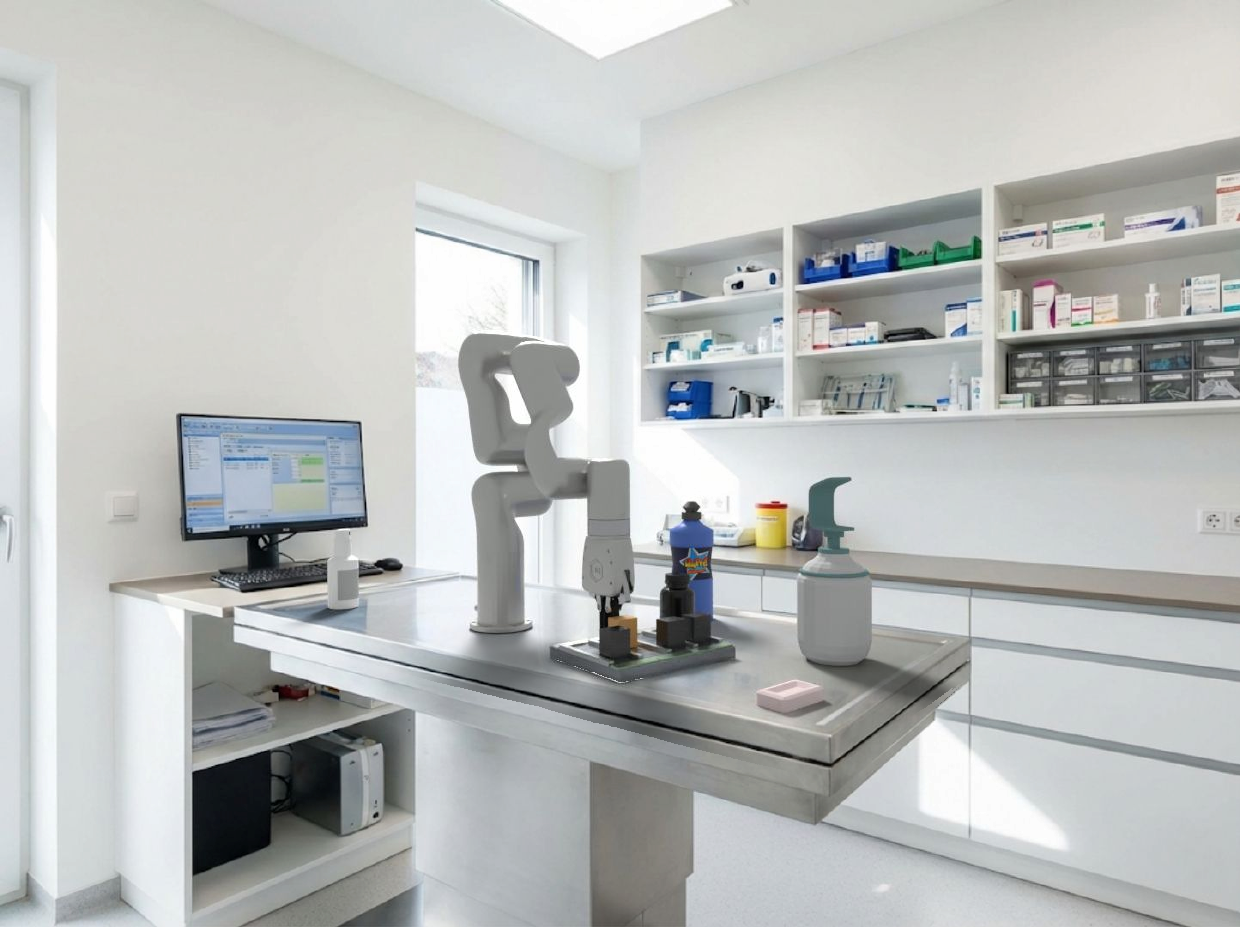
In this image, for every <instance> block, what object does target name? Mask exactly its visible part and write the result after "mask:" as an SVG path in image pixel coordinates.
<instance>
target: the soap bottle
mask: <svg viewBox="0 0 1240 927" xmlns="http://www.w3.org/2000/svg"><path fill="white" fill-rule="evenodd" d="M852 480H853V479H852V477H850V476H836V477H833V476H832V477H827V478H824V479H821V480H819V481H818V482H815V483H813V484H812V485H811V486H810V487H809V489H808V524H809V527H810V529H812V530H816V531H823V532H822V537H823V538H827V543H826V544H827V546H819V547H818V548H817V550H818V552H817V555H816V556H815V557H814V558H813V559H810V560H808V561H807V562H806V563H805V564H804V565H803V566H802V567H800V568H798V570H799V573H798V574H797V577H796V637H797V642H798V647H799V649H800V652H801V654H802V655H803V656H804V657H805V658H806V659H808V660H809V661H810V662H813V663H815V664H819V665H824V666H829V667H830V666H831V667H834V666H835V667H843V666H844V667H847V666H855V665H858V664H859V663H860V662H861V661H863V660H864V659H866V657H868V655H869V653H870V650H871V646H872V640H873V636H872V635H873V634H872V633H873V632H872V631H873V629H872V625H873V624H872V623H873V620H872V618H873V616H872V614H873V612H872V611H873V610H872V606H873V605H872V602H873V600H872V597H873V595H872V594H873V592H872V591H873V588H872V587H873V586H872V585H873V581H872V579H871V577H870V576H869V575H870V571H869V570H868V569H867V568H864V566H863V565H862V564H861V563H860V562H858V561H856V560H855V559H854V558H852V557H851V556H850V548H848V547H843V546H841V538H844V537H845V532H852V531H853V532H854V531H855V527H854V526H853V527H852V526H846V525H839V524H837V523H836V521H835V492H836V489H837V488H838V487H840V486H842V485H845V484H847V483H849V482H852Z"/></svg>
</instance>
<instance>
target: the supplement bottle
mask: <svg viewBox="0 0 1240 927" xmlns="http://www.w3.org/2000/svg"><path fill="white" fill-rule="evenodd" d="M664 577H665V578H664V584H665V586H664V587H663V588H662V589H661V590H660V592H659V619H660V618H666V617H672V616H675V617H679V618H682V615H684V614H690V613H695V592H694V590H693V589H692V588H690V587H689V584H690V574H688V573H672V572H667V573H665V574H664Z"/></svg>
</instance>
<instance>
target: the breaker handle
mask: <svg viewBox="0 0 1240 927" xmlns="http://www.w3.org/2000/svg"><path fill="white" fill-rule="evenodd" d="M618 625H619V626H623V627H627V628H630V648H633V647H637V630H638V617H636V616H633V615H628V614H624V615H619V616H616V617H610V618H608V627H612V626H618Z"/></svg>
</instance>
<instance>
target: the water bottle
mask: <svg viewBox="0 0 1240 927" xmlns="http://www.w3.org/2000/svg"><path fill="white" fill-rule="evenodd" d="M682 509H683V510H684V511H681V520H682V521H681V523H679V524H677V525H675V526H673V527H672V528H670V529H669V545H670V553H671V560H672V561H671V562H672V565H671V573H688V574H690V584H689V587H690V588H692V589H693V590H694V592H695V612H702V613H706V614H711V622H712V621H713V620H714V576H713V571H712V570H713V569H712V557H713V556H712V555H713V548H714V540H715V538H714V532H715V531H714V529H713V528H711V527H709V526H708V525H705V524H704V523H703V522H702V521H701V520H702V511H699V510H700V509H701V505H699V503H698V502H696V501H695V500H692V501H691V500H690V501H686V503H685V504H684V505H683V506H682Z"/></svg>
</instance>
